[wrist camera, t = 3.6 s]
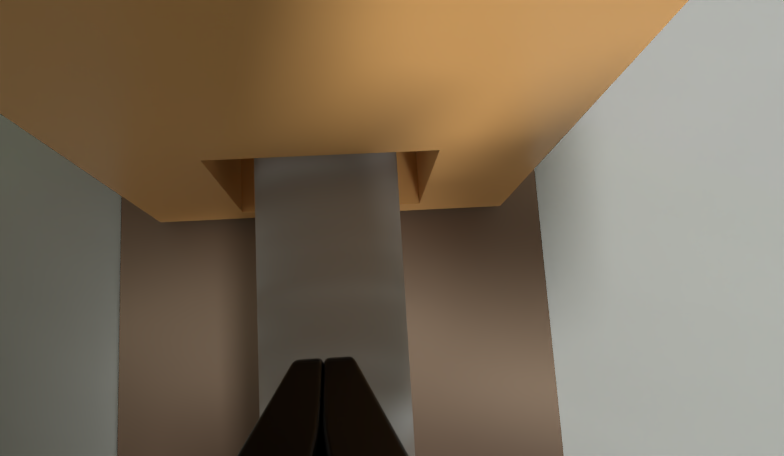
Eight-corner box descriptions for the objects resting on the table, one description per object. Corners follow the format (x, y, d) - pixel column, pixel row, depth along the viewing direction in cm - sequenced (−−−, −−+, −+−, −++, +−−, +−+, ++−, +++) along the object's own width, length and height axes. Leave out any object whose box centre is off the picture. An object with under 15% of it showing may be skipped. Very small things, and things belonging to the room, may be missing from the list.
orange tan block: (500, 205, 16) (842, -170, 5) (160, 222, 16) (-387, -149, 4) (486, 50, 17) (750, -602, 5) (161, 61, 16) (-300, -625, 5)
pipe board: (579, 739, 15) (734, 1007, 9) (128, 781, 15) (-47, 1099, 8) (488, -189, 20) (547, -445, 13) (140, -185, 19) (32, -448, 13)
